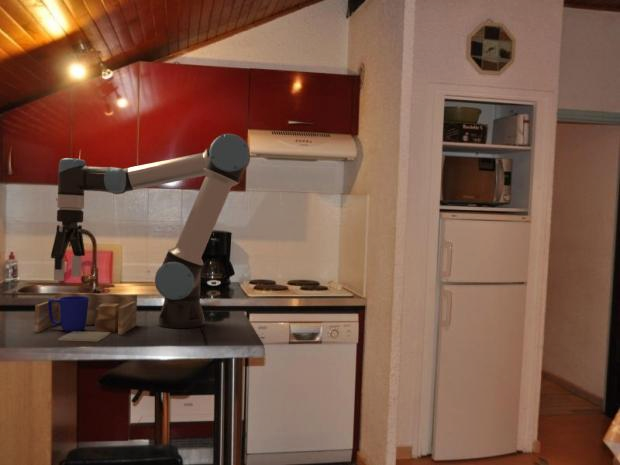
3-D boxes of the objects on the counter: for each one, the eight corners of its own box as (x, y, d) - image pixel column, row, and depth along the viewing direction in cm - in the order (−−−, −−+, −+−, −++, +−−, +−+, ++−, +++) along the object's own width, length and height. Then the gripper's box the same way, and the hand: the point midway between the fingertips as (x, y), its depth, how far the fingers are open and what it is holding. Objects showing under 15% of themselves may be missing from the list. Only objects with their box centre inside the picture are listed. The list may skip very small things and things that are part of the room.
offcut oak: (118, 316, 185) (119, 303, 185) (114, 319, 179) (115, 306, 179) (102, 316, 185) (102, 303, 185) (98, 319, 179) (98, 306, 179)
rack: (136, 325, 191) (137, 294, 191) (121, 334, 175) (122, 301, 175) (56, 322, 191) (56, 292, 190) (34, 332, 175) (35, 298, 175)
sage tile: (110, 334, 175) (110, 332, 175) (97, 341, 164) (97, 339, 164) (73, 333, 175) (73, 331, 175) (58, 340, 164) (58, 338, 164)
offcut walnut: (122, 328, 185) (122, 316, 185) (114, 333, 178) (115, 319, 178) (103, 328, 185) (103, 315, 185) (95, 332, 178) (95, 319, 178)
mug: (54, 326, 184) (55, 295, 184) (92, 328, 183) (93, 296, 183) (41, 331, 176) (42, 298, 175) (81, 333, 175) (82, 300, 175)
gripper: (73, 209, 191) (71, 274, 192) (40, 207, 166) (37, 282, 167) (96, 210, 191) (94, 275, 192) (66, 208, 167) (64, 283, 167)
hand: (67, 278), depth 179 cm, fingers open, 13 cm apart
